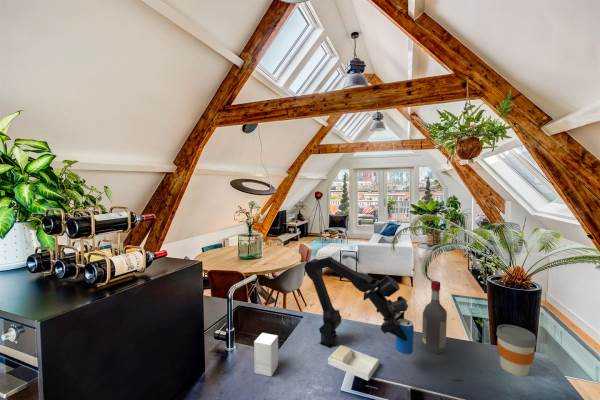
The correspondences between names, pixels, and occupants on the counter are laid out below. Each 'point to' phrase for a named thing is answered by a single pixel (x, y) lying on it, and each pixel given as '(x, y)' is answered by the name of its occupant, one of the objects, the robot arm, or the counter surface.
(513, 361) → the reusable coffee cup
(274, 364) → the supplement box
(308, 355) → the counter surface
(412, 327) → the beverage can
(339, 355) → the beige rectangular block
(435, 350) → the liquor
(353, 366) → the white rectangular tray
